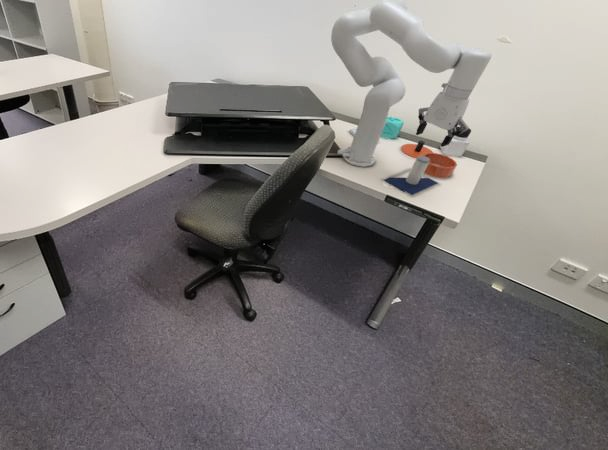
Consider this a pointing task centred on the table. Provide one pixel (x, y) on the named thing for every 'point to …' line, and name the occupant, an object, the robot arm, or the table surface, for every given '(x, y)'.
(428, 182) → the towel
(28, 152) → the table surface
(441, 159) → the pot
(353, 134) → the hard drive
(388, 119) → the decorative dice
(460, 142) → the medicine bottle
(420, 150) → the pot lid
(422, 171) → the salt shaker
